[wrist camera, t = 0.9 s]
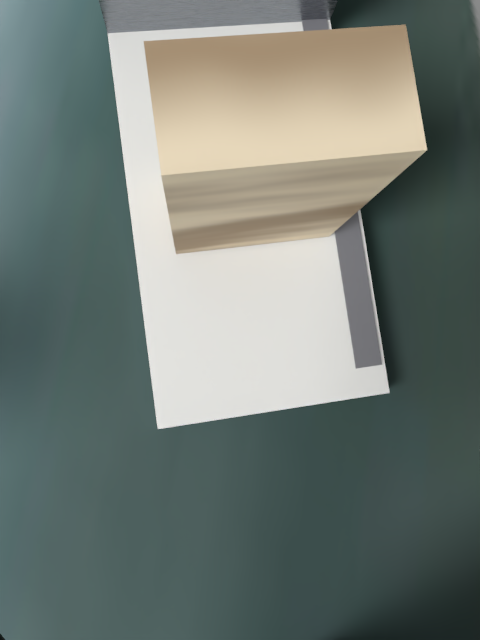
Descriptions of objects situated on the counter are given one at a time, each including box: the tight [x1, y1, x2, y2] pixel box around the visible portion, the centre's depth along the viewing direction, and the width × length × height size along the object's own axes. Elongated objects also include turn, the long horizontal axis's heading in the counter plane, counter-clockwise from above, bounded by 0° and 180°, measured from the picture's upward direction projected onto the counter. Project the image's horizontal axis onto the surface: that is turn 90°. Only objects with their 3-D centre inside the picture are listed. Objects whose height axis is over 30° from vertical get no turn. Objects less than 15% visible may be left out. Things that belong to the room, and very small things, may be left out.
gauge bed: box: [108, 19, 390, 429], centre depth 24 cm, size 23×12×1 cm, turn 8°
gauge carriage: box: [144, 25, 427, 254], centre depth 18 cm, size 4×10×10 cm, turn 98°
